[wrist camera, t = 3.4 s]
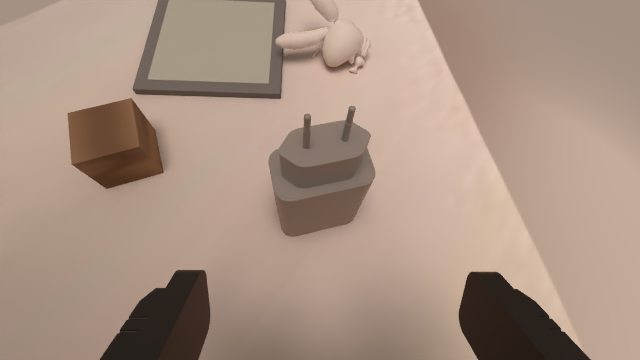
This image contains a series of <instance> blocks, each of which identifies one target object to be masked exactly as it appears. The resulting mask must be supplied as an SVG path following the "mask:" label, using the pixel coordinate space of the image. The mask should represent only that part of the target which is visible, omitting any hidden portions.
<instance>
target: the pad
mask: <svg viewBox="0 0 640 360" xmlns="http://www.w3.org/2000/svg"><path fill="white" fill-rule="evenodd" d="M284 20H285V0H158V3H157V7H156V10H155V14H154V17H153V21H152V24H151V28H150V31H149V34H148V38H147V41H146V45H145V48H144V52H143V55H142V58H141V62H140V65H139V69H138V72H137V76H136V79H135V82H134V86H133V90H134V92H135V93H136V94H155V95H186V96H218V97H249V98H280V97H281V78H282V58H283V48H281V47H279V46H277V45H276V39H277V38H278V37H279V36H281V35H283V34H284Z"/></svg>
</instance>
